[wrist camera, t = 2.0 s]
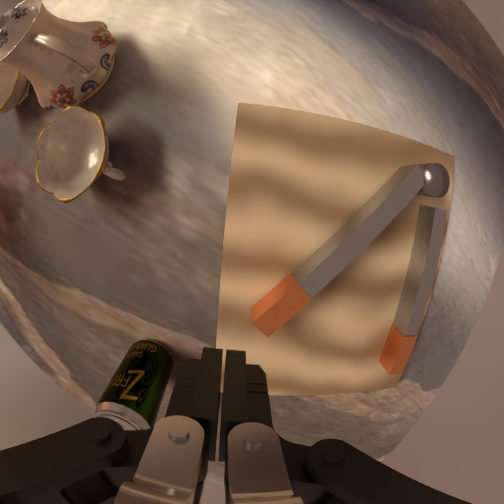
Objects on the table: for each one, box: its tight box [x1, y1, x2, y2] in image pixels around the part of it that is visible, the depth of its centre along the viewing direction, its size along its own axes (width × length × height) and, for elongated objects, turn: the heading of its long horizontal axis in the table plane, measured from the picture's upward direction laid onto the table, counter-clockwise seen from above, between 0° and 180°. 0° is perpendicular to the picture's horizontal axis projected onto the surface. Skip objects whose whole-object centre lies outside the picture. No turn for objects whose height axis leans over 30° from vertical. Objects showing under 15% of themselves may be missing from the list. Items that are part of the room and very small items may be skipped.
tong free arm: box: [251, 163, 450, 337], centre depth 23 cm, size 23×4×3 cm, turn 134°
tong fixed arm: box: [379, 205, 447, 375], centre depth 25 cm, size 18×2×3 cm, turn 174°
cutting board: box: [216, 103, 454, 395], centre depth 26 cm, size 30×24×2 cm
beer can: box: [94, 339, 173, 430], centre depth 23 cm, size 5×5×12 cm
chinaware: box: [0, 0, 126, 203], centre depth 14 cm, size 28×17×17 cm, turn 55°
